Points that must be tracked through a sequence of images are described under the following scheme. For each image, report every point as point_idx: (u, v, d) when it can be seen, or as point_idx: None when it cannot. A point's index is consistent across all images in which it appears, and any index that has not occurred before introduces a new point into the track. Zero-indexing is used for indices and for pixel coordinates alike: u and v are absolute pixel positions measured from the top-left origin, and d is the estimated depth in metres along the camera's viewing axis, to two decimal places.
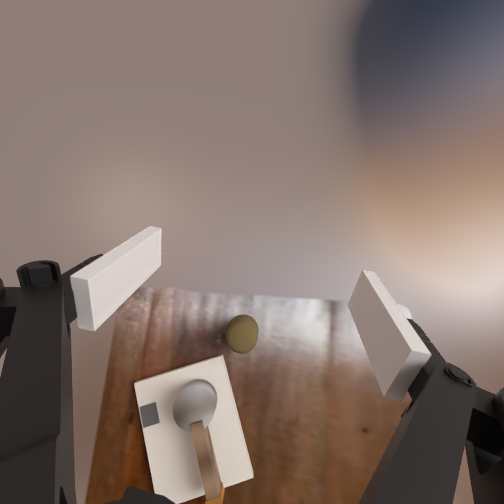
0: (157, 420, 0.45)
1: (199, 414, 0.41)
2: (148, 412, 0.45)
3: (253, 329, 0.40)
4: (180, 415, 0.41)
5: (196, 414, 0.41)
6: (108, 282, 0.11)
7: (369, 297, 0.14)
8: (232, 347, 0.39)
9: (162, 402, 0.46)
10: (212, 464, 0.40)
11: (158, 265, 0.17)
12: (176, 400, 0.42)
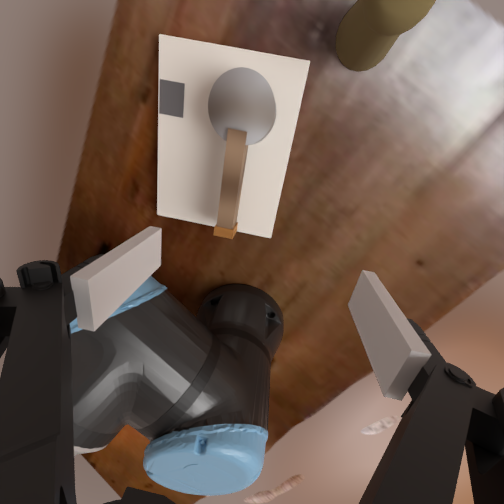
0: (181, 113, 0.30)
1: (246, 121, 0.26)
2: (171, 94, 0.30)
3: None
4: (218, 108, 0.26)
5: (241, 118, 0.26)
6: (108, 282, 0.11)
7: (369, 297, 0.14)
8: None
9: (194, 89, 0.29)
10: (237, 194, 0.29)
11: (158, 265, 0.17)
12: (220, 80, 0.25)
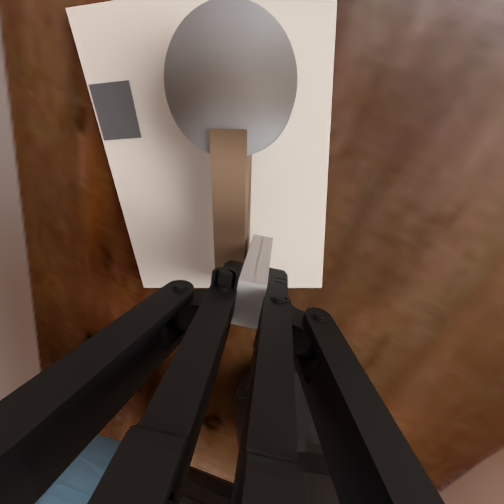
0: (136, 130, 0.18)
1: (243, 110, 0.13)
2: (112, 104, 0.18)
3: None
4: (186, 94, 0.13)
5: (233, 106, 0.13)
6: None
7: None
8: None
9: (146, 86, 0.17)
10: (245, 243, 0.16)
11: None
12: (179, 35, 0.12)
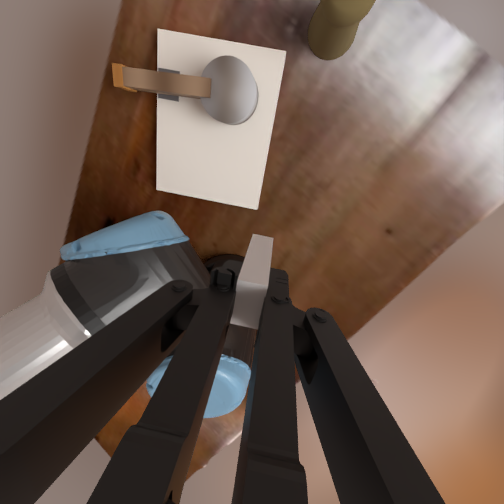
0: (177, 97, 0.35)
1: (217, 97, 0.31)
2: None
3: None
4: (225, 67, 0.29)
5: (219, 92, 0.30)
6: None
7: None
8: None
9: None
10: (158, 90, 0.31)
11: None
12: (246, 68, 0.29)
